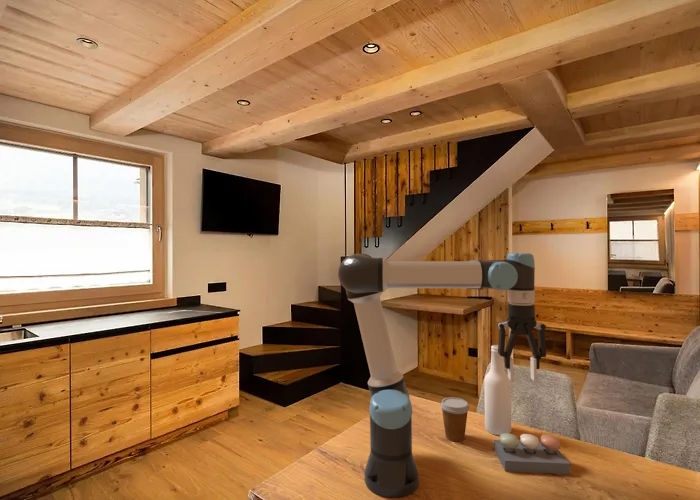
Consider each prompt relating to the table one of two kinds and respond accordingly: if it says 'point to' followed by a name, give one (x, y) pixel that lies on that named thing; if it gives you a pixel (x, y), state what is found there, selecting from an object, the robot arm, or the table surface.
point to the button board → (531, 460)
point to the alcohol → (497, 396)
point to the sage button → (509, 442)
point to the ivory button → (529, 442)
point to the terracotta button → (550, 443)
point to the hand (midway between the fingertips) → (521, 379)
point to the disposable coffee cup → (454, 418)
